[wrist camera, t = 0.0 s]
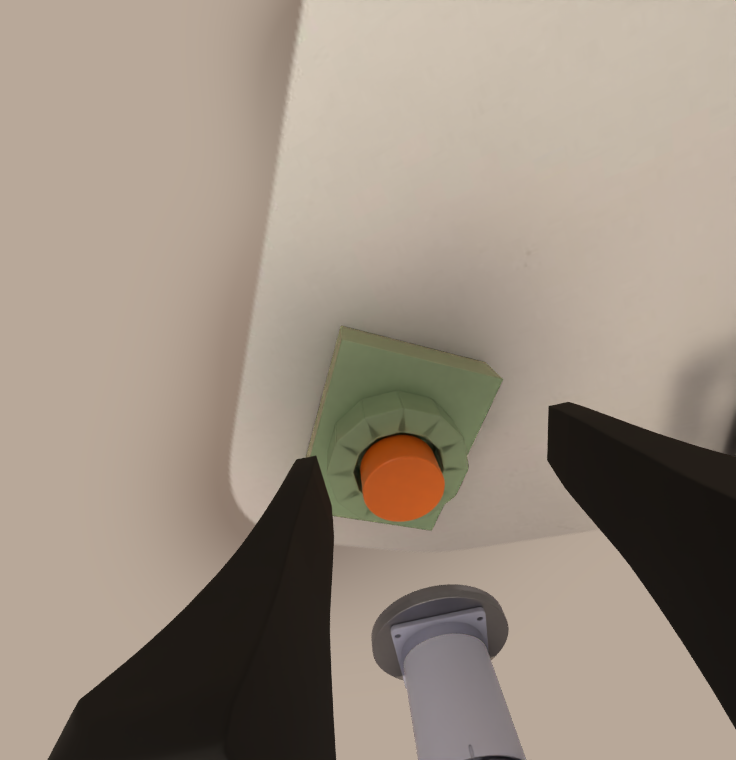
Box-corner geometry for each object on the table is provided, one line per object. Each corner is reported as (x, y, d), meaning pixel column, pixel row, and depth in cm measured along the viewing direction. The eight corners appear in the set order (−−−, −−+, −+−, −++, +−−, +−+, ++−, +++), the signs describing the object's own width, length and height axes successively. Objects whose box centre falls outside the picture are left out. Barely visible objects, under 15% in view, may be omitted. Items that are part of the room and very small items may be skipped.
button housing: (423, 503, 23) (440, 557, 20) (298, 483, 22) (292, 537, 18) (486, 362, 19) (521, 396, 16) (340, 325, 18) (342, 353, 14)
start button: (420, 500, 18) (428, 527, 17) (351, 489, 18) (353, 516, 16) (446, 441, 17) (457, 465, 15) (372, 427, 16) (376, 449, 15)
